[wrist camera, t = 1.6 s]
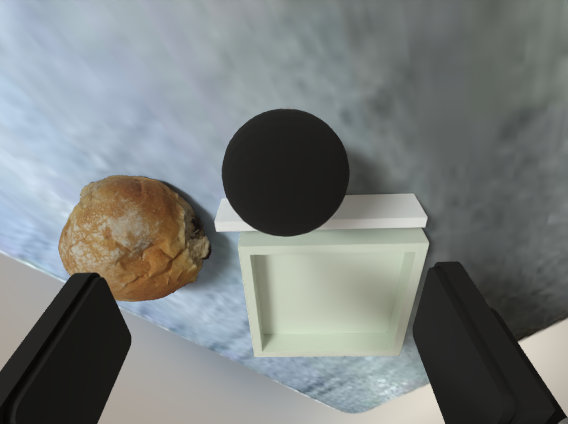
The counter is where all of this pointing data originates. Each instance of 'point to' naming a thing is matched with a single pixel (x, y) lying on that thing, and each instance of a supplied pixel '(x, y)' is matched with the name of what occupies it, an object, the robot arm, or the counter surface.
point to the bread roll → (134, 238)
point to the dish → (331, 290)
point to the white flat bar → (349, 213)
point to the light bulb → (285, 172)
